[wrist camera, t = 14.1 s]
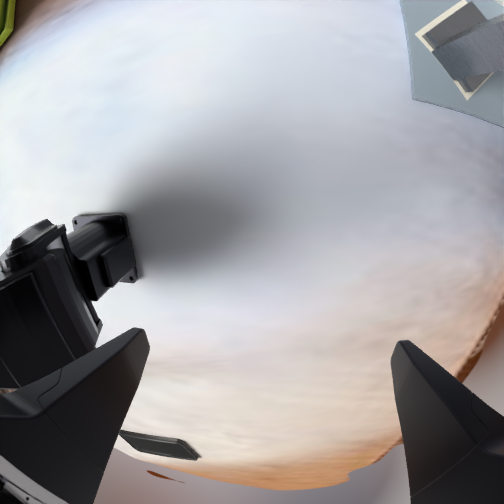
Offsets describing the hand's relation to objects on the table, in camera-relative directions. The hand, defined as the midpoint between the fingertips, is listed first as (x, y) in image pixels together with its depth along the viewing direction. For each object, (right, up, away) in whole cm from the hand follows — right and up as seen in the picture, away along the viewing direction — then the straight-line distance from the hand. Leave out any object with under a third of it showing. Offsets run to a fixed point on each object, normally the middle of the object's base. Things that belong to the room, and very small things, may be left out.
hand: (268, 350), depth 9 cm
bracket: (+17, +20, +3) cm, 27 cm away
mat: (+18, +21, +3) cm, 28 cm away
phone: (-18, -33, +31) cm, 49 cm away
